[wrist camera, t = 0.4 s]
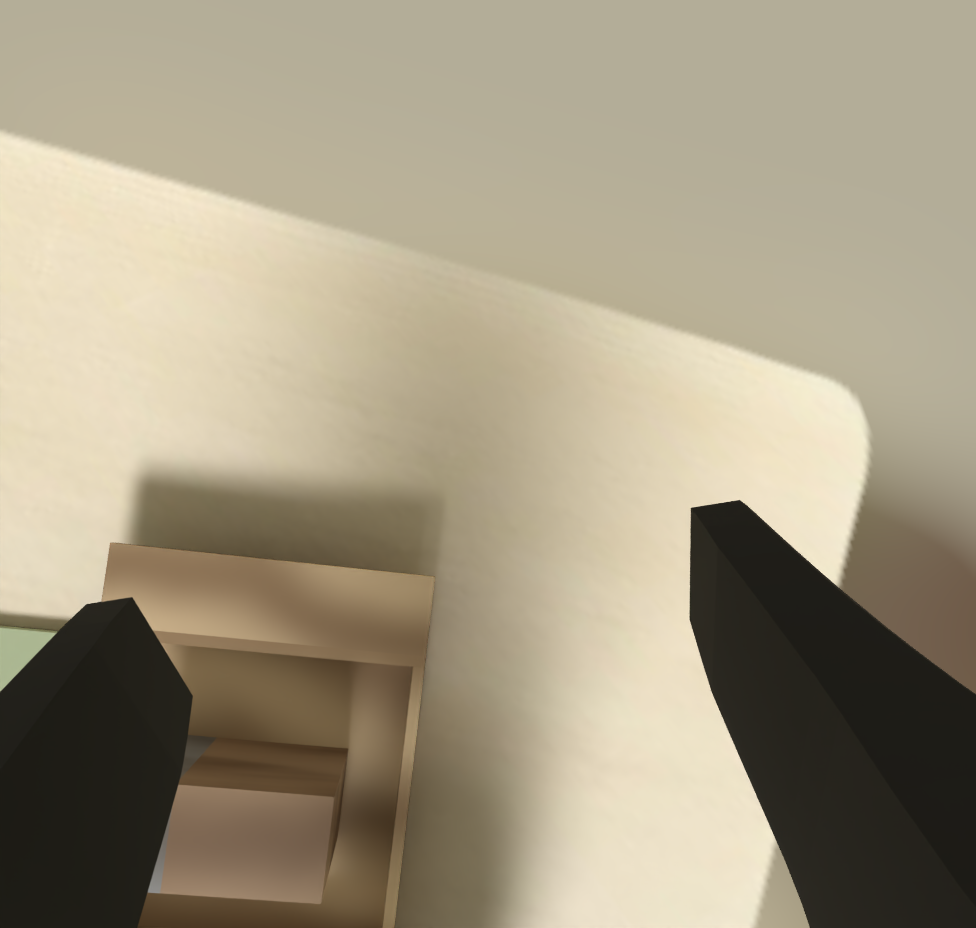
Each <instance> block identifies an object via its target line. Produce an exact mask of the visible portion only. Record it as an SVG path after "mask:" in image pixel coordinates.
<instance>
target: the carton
mask: <svg viewBox="0 0 976 928" xmlns="http://www.w3.org/2000/svg"><path fill="white" fill-rule="evenodd" d="M434 583H435V577H434V576H425V575H415V574H406V573H396V572H387V571H377V570H368V569H359V568H349V567H340V566H330V565H321V564H311V563H302V562H292V561H283V560H273V559H264V558H254V557H245V556H235V555H226V554H216V553H207V552H197V551H188V550H178V549H169V548H159V547H150V546H140V545H131V544H121V543H110V548H109V554H108V561H107V568H106V574H105V581H104V588H103V595H102V601H101V602H104V601H110V600H116V599H123V598H129V597H133V599H134V600H135V602H136V604H137V605H138V607H139V609H140V610H141V612H142V614H143V615H144V617H145V618H146V620H147V622H148V623H149V625H150V627H151V628H152V630H153V632H154V633H155V635H156V636H157V638H158V640H159V641H160V643H161V645H162V646H163V648H164V649H165V651H166V653H167V654H168V656H169V658H170V659H171V661H172V663H173V664H174V666H175V667H176V669H177V671H178V672H179V674H180V676H181V677H182V679H183V680H184V682H185V684H186V685H187V687H188V689H189V690H190V692H191V694H192V695H193V700H192V707H191V715H190V723H189V730H188V735H194V736H206V737H218V738H229V739H241V740H253V741H265V742H276V743H288V744H300V745H312V746H323V747H335V748H347V749H348V757H347V765H346V773H345V781H344V789H343V797H342V806H341V814H340V822H339V830H338V837H337V842H336V846H335V850H334V854H333V858H332V862H331V866H330V870H329V874H328V878H327V882H326V886H325V890H324V894H323V898H322V902H321V904H311V903H296V902H281V901H266V900H252V899H237V898H222V897H207V896H192V895H177V894H162V893H147V896H146V900H145V903H144V906H143V910H142V913H141V917H140V920H139V924H138V927H137V928H394V926H395V917H396V909H397V900H398V892H399V883H400V874H401V866H402V857H403V849H404V840H405V832H406V823H407V814H408V806H409V797H410V789H411V780H412V771H413V763H414V754H415V746H416V737H417V728H418V720H419V711H420V703H421V694H422V686H423V677H424V668H425V660H426V651H427V643H428V634H429V625H430V617H431V608H432V600H433V591H434Z"/></svg>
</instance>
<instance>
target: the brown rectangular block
mask: <svg viewBox="0 0 976 928" xmlns="http://www.w3.org/2000/svg"><path fill="white" fill-rule="evenodd" d="M347 757H348V749H347V748H335V747H323V746H312V745H300V744H288V743H276V742H265V741H253V740H241V739H229V738H218V737H206V736H194V735H188V738H187V744H186V750H185V756H184V762H183V767H182V773H181V777H180V780H179V784H178V788H177V792H176V795H175V799H174V802H173V806H172V809H171V813H170V817H169V820H168V824H167V827H166V831H165V834H164V838H163V841H162V845H161V848H160V851H159V855H158V858H157V862H156V865H155V869H154V872H153V875H152V879H151V882H150V886H149V889H148V893H162V894H177V895H192V896H207V897H222V898H237V899H252V900H266V901H281V902H296V903H311V904H321V902H322V898H323V894H324V890H325V886H326V882H327V878H328V874H329V870H330V866H331V862H332V858H333V854H334V850H335V846H336V842H337V837H338V830H339V822H340V814H341V806H342V797H343V789H344V781H345V773H346V765H347Z"/></svg>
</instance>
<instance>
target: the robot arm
mask: <svg viewBox="0 0 976 928" xmlns="http://www.w3.org/2000/svg"><path fill="white" fill-rule="evenodd" d="M690 622H691V625H692V629H693V632H694V636H695V639H696V642H697V646H698V649H699V652H700V656H701V659H702V662H703V666H704V669H705V672H706V675H707V678H708V681H709V685H710V688H711V691H712V694H713V696H714V698H715V701H716V703H717V705H718V708H719V710H720V712H721V715H722V717H723V719H724V722H725V724H726V726H727V729H728V731H729V733H730V736H731V738H732V740H733V743H734V745H735V747H736V750H737V752H738V754H739V756H740V759H741V761H742V763H743V766H744V768H745V770H746V772H747V775H748V777H749V779H750V782H751V784H752V786H753V788H754V791H755V793H756V795H757V798H758V800H759V802H760V804H761V807H762V809H763V811H764V814H765V816H766V818H767V820H768V823H769V825H770V827H771V830H772V832H773V834H774V836H775V839H776V841H777V843H778V845H779V848H780V850H781V852H782V855H783V857H784V859H785V861H786V864H787V867H788V869H789V872H790V874H791V877H792V879H793V882H794V884H795V887H796V890H797V892H798V895H799V897H800V900H801V903H802V905H803V908H804V911H805V914H806V917H807V920H808V923H809V926H810V928H976V694H975V693H973V692H972V691H970V690H969V689H968V688H966V687H965V686H963V685H962V684H961V683H959V682H958V681H957V680H955V679H954V678H952V677H951V676H950V675H948V674H947V673H946V672H944V671H943V670H942V669H940V668H939V667H938V666H936V665H935V664H934V663H932V662H931V661H930V660H928V659H927V658H926V657H924V656H923V655H922V654H920V653H919V652H918V651H916V650H915V649H914V648H912V647H911V646H910V645H909V644H907V643H906V642H905V641H904V640H902V639H901V638H900V637H898V636H897V635H896V634H895V633H893V632H892V631H891V630H889V629H888V628H887V627H886V626H884V625H883V624H882V623H881V622H880V621H878V620H877V619H876V618H875V617H873V616H872V615H871V614H870V613H869V612H867V611H866V610H865V609H864V608H863V607H861V606H860V605H859V604H858V603H857V602H855V601H854V600H853V599H852V598H850V597H849V596H848V595H847V594H846V593H844V592H843V591H842V590H841V589H840V588H838V587H837V586H836V585H835V584H834V583H833V582H831V581H830V580H829V579H828V578H827V577H826V576H824V575H823V574H822V573H821V572H820V571H819V570H818V569H816V568H815V567H814V566H813V565H812V564H811V563H810V562H809V561H807V560H806V559H805V558H804V557H803V556H802V555H801V554H800V553H798V552H797V551H796V550H795V549H794V548H793V547H792V546H791V545H790V544H788V543H787V542H786V541H785V540H784V539H783V538H782V537H781V536H780V535H779V534H777V533H776V532H775V531H774V530H773V529H772V528H771V527H770V526H769V525H768V524H767V523H765V522H764V521H763V520H762V519H761V518H760V517H759V516H758V515H757V514H756V513H755V512H754V511H752V510H751V509H750V508H749V507H748V506H747V505H745V504H744V503H743V502H741V501H740V500H737V501H731V502H725V503H719V504H712V505H706V506H700V507H693V508H691V548H690ZM192 700H193V695H192V694H191V692H190V690H189V689H188V687H187V685H186V684H185V682H184V680H183V679H182V677H181V676H180V674H179V672H178V671H177V669H176V667H175V666H174V664H173V663H172V661H171V659H170V658H169V656H168V654H167V653H166V651H165V649H164V648H163V646H162V645H161V643H160V641H159V640H158V638H157V636H156V635H155V633H154V632H153V630H152V628H151V627H150V625H149V623H148V622H147V620H146V618H145V617H144V615H143V614H142V612H141V610H140V609H139V607H138V605H137V604H136V602H135V600H134V599H133V597H129V598H123V599H116V600H110V601H104V602H98V603H91V604H86V605H85V606H84V607H83V608H82V609H81V610H80V611H79V612H78V613H77V614H76V615H75V616H74V617H72V618H71V619H70V620H69V621H68V622H67V623H66V624H65V625H64V626H63V627H62V628H61V629H60V630H59V631H58V632H57V633H56V634H55V635H54V636H53V637H52V638H51V639H50V640H49V641H48V642H47V643H46V645H45V646H44V647H43V648H42V649H41V650H40V651H39V652H38V653H37V654H36V655H35V656H34V657H33V658H32V659H31V660H30V661H29V662H28V663H27V664H26V665H25V666H24V667H23V668H22V669H21V670H20V672H19V673H18V674H17V675H16V676H15V677H14V678H13V679H12V680H11V681H10V682H9V683H8V684H7V685H6V686H5V687H4V688H3V689H2V690H1V691H0V928H137V927H138V924H139V920H140V917H141V913H142V910H143V906H144V903H145V900H146V896H147V893H148V889H149V886H150V882H151V879H152V875H153V872H154V869H155V865H156V862H157V858H158V855H159V851H160V848H161V845H162V841H163V838H164V834H165V831H166V827H167V824H168V820H169V817H170V813H171V809H172V806H173V802H174V799H175V795H176V792H177V788H178V784H179V780H180V777H181V773H182V767H183V762H184V756H185V750H186V744H187V738H188V730H189V723H190V715H191V707H192Z"/></svg>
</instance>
